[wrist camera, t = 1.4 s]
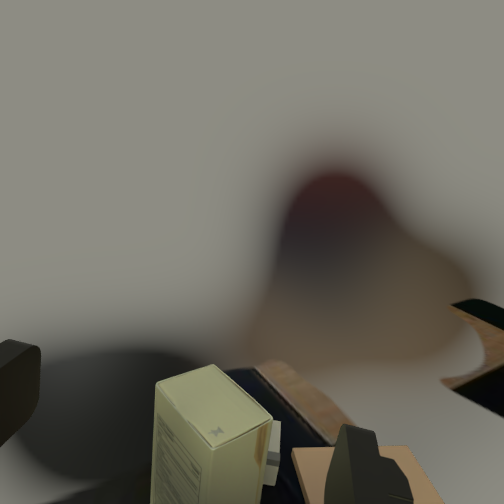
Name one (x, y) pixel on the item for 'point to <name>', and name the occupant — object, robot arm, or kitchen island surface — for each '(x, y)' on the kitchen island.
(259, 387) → the kitchen island surface
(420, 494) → the coaster
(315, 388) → the kitchen island surface
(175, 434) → the skincare box
